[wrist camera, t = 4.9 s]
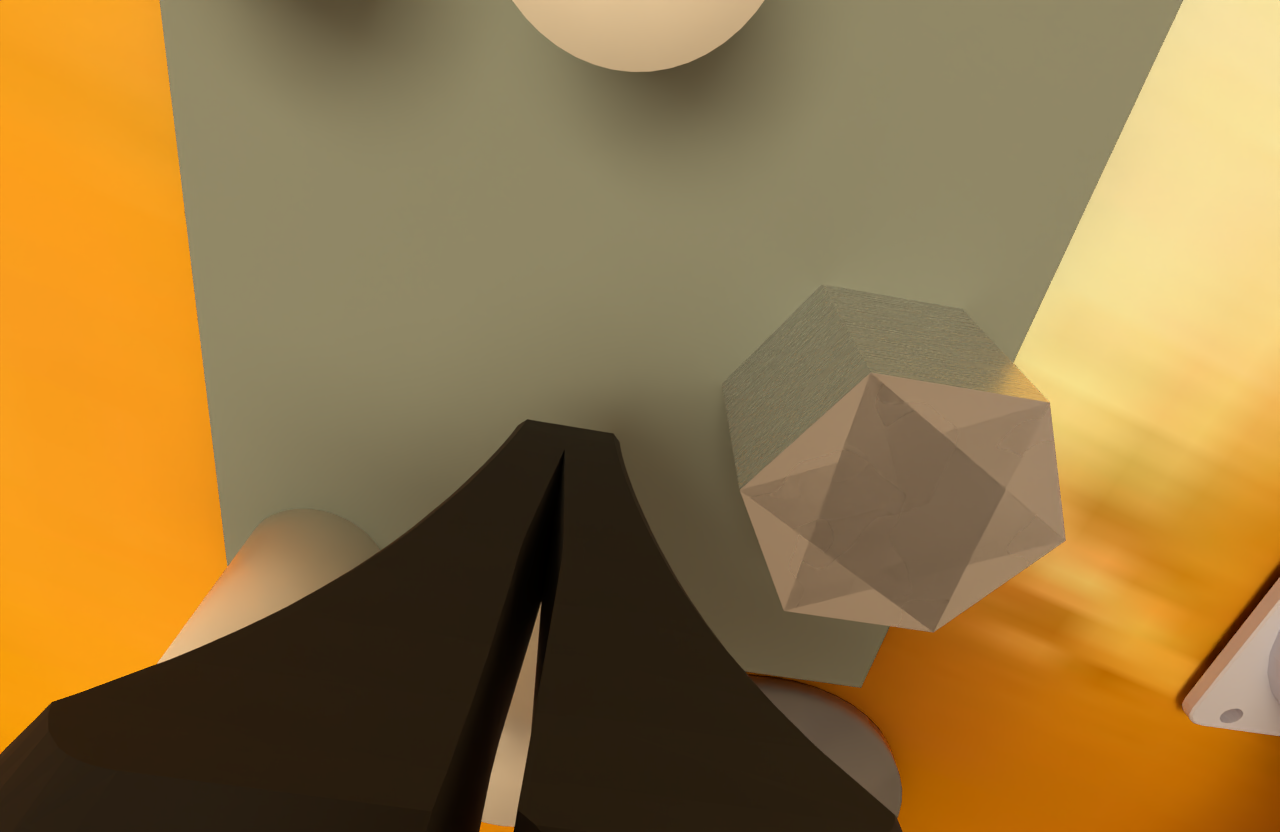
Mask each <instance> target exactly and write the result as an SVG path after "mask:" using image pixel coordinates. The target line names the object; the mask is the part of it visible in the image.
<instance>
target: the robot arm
mask: <svg viewBox="0 0 1280 832" xmlns="http://www.w3.org/2000/svg"><path fill="white" fill-rule="evenodd" d="M540 605H541V613H540V625H539V638H538V650H537V663H536V676H535V688H534V701H533V714H532V726H531V737H530V742H529V748H528V753H527V759H526V764H525V770H524V776H523V781H522V787H521V792H520V798H519V803H518V809H517V815H516V821H515V827H514V832H902V830H901V827H900V825H899V822H898V819H897V817H896V816H895V814H893V813H892V812H891V811H890V810H889V809H888V808H886V807H885V806H884V805H883V804H882V803H881V802H880V801H878V800H877V799H876V798H875V797H874V796H873V795H871V794H870V793H869V792H868V791H867V790H866V789H865V788H863V787H862V786H861V785H860V784H859V783H858V782H856V781H855V780H854V779H853V778H852V777H851V776H850V775H848V774H847V773H846V772H845V771H844V770H843V769H841V768H840V767H839V766H838V765H837V764H836V763H835V762H833V761H832V760H831V759H830V758H829V757H828V756H826V755H825V754H824V753H823V752H822V751H821V750H820V749H819V748H817V747H816V746H815V745H814V744H813V743H812V742H811V741H810V740H809V739H808V738H807V737H806V736H805V735H804V734H803V733H802V732H801V731H800V730H799V729H798V728H797V727H796V726H795V725H794V724H793V723H792V722H791V721H790V720H789V719H788V718H787V717H786V716H785V715H784V714H783V713H782V712H781V711H780V710H779V709H778V708H777V707H776V706H775V705H774V704H773V703H772V702H771V701H770V700H769V699H768V697H767V696H766V695H765V694H764V693H763V692H762V691H761V690H760V688H759V687H758V686H757V685H756V684H755V683H754V681H753V680H752V679H751V678H750V677H749V676H748V674H747V673H746V672H745V671H744V670H743V669H742V668H741V666H740V665H739V664H738V663H737V662H736V661H735V659H734V658H733V657H732V656H731V655H730V654H729V652H728V651H727V650H726V649H725V647H724V646H723V645H722V643H721V642H720V641H719V639H718V638H717V637H716V635H715V634H714V633H713V631H712V630H711V629H710V627H709V626H708V625H707V623H706V622H705V620H704V619H703V617H702V616H701V614H700V613H699V612H698V610H697V609H696V607H695V606H694V604H693V603H692V601H691V600H690V598H689V597H688V595H687V594H686V592H685V590H684V589H683V587H682V586H681V584H680V582H679V581H678V579H677V577H676V576H675V574H674V572H673V570H672V569H671V567H670V565H669V563H668V561H667V559H666V558H665V556H664V554H663V552H662V550H661V549H660V547H659V545H658V543H657V541H656V539H655V537H654V535H653V533H652V531H651V529H650V526H649V524H648V522H647V520H646V518H645V515H644V513H643V511H642V509H641V506H640V504H639V502H638V500H637V497H636V495H635V492H634V490H633V487H632V484H631V481H630V479H629V476H628V473H627V470H626V467H625V464H624V460H623V456H622V452H621V448H620V442H619V440H618V439H617V438H616V436H615V435H614V433H608V432H602V431H596V430H590V429H583V428H577V427H571V426H565V425H559V424H553V423H547V422H541V421H535V420H529V419H527V420H525V421H524V422H522V423H520V424H519V425H518V426H517V427H516V428H515V430H514V431H513V432H512V434H511V435H510V436H509V437H508V438H507V440H506V441H505V442H504V443H503V444H502V445H501V446H500V448H499V449H498V450H497V451H496V452H495V453H494V454H493V455H492V456H491V457H490V458H489V459H488V460H487V461H486V462H485V463H484V464H483V465H482V466H481V467H480V468H479V469H478V470H477V471H476V472H475V473H474V474H473V475H472V476H471V477H470V478H469V479H468V480H467V481H466V482H465V483H464V484H463V485H462V486H460V487H459V488H458V489H457V490H456V491H455V492H454V493H453V494H452V495H451V496H450V497H448V498H447V499H446V500H445V501H444V502H442V503H441V504H440V505H439V506H438V507H436V508H435V509H434V510H433V511H431V512H430V513H429V514H428V515H427V516H425V517H424V518H423V519H422V520H421V521H419V522H418V523H417V524H416V525H415V526H413V527H412V528H411V529H409V530H408V531H407V532H405V533H404V534H403V535H401V536H400V537H399V538H397V539H396V540H395V541H393V542H392V543H390V544H389V545H388V546H386V547H385V548H383V549H382V550H380V551H379V552H377V553H376V554H374V555H373V556H371V557H370V558H368V559H367V560H365V561H364V562H362V563H361V564H359V565H358V566H356V567H355V568H353V569H352V570H350V571H348V572H347V573H345V574H343V575H342V576H340V577H338V578H337V579H335V580H333V581H332V582H330V583H328V584H326V585H325V586H323V587H321V588H320V589H318V590H316V591H314V592H312V593H311V594H309V595H307V596H305V597H303V598H302V599H300V600H298V601H296V602H294V603H293V604H291V605H289V606H287V607H285V608H283V609H281V610H279V611H277V612H275V613H273V614H271V615H269V616H267V617H265V618H263V619H261V620H259V621H256V622H254V623H252V624H250V625H248V626H246V627H244V628H242V629H240V630H237V631H235V632H233V633H231V634H228V635H226V636H224V637H221V638H219V639H217V640H215V641H212V642H210V643H208V644H206V645H203V646H201V647H199V648H196V649H194V650H191V651H189V652H187V653H184V654H182V655H179V656H177V657H174V658H172V659H170V660H167V661H164V662H161V663H159V664H156V665H153V666H151V667H148V668H145V669H143V670H140V671H137V672H134V673H132V674H129V675H126V676H124V677H121V678H118V679H116V680H113V681H110V682H108V683H105V684H102V685H99V686H97V687H94V688H91V689H89V690H86V691H83V692H81V693H78V694H75V695H72V696H69V697H66V698H63V699H60V700H57V701H54V702H52V703H51V704H50V705H49V706H48V707H47V708H46V709H45V710H44V711H43V712H42V713H41V714H40V715H39V716H38V717H37V718H36V719H35V720H34V721H33V722H32V723H31V724H30V725H29V726H28V727H27V728H26V729H25V730H24V731H23V732H22V733H21V734H20V735H19V736H18V737H17V738H16V739H15V740H14V741H13V742H12V743H11V744H10V745H9V746H8V747H7V748H6V749H5V750H4V751H3V752H2V753H1V754H0V832H479V830H480V825H481V820H482V815H483V810H484V806H485V801H486V796H487V791H488V786H489V781H490V776H491V772H492V768H493V764H494V760H495V756H496V752H497V748H498V745H499V741H500V737H501V734H502V731H503V727H504V724H505V721H506V718H507V714H508V711H509V708H510V704H511V701H512V698H513V694H514V691H515V688H516V684H517V681H518V678H519V675H520V671H521V668H522V665H523V661H524V658H525V655H526V651H527V648H528V645H529V641H530V638H531V635H532V631H533V628H534V625H535V621H536V618H537V615H538V611H539V608H540ZM1182 708H1183V710H1184V712H1185V713H1186V714H1187V716H1188V717H1189V719H1190V720H1191V721H1192V722H1193V723H1195V724H1199V725H1203V726H1210V727H1218V728H1225V729H1232V730H1239V731H1246V732H1253V733H1260V734H1267V735H1275V736H1280V577H1279V578H1278V580H1277V581H1276V582H1275V584H1274V585H1273V586H1272V587H1271V589H1270V590H1269V591H1268V593H1267V594H1266V595H1265V596H1264V598H1263V599H1262V600H1261V601H1260V603H1259V604H1258V605H1257V607H1256V608H1255V609H1254V610H1253V612H1252V613H1251V614H1250V615H1249V617H1248V618H1247V619H1246V621H1245V622H1244V623H1243V624H1242V626H1241V627H1240V628H1239V630H1238V631H1237V632H1236V633H1235V635H1234V636H1233V637H1232V638H1231V640H1230V641H1229V642H1228V644H1227V645H1226V646H1225V647H1224V649H1223V650H1222V651H1221V652H1220V654H1219V655H1218V656H1217V658H1216V659H1215V660H1214V661H1213V663H1212V664H1211V665H1210V666H1209V668H1208V669H1207V670H1206V672H1205V673H1204V674H1203V675H1202V677H1201V678H1200V679H1199V681H1198V682H1197V683H1196V684H1195V686H1194V687H1193V688H1192V689H1191V691H1190V692H1189V693H1188V695H1187V696H1186V697H1185V699H1184V701H1183V703H1182Z"/></svg>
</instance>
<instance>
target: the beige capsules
mask: <svg viewBox="0 0 1280 832" xmlns="http://www.w3.org/2000/svg"><path fill="white" fill-rule="evenodd" d="M512 1H513V2H514V3H515V5H516V6H517V7H518V9H519V10H520V11H521V12H522V14H523V15H524V16H525V18H526V19H527V20H528V21H529V22H530V23H531V24H532V25H533V26H534V27H535V28H536V29H537V30H538V31H539V32H540V33H541V34H543V35H544V36H545V37H546V38H548V39H549V40H550V41H551V42H553V43H554V44H555V45H556V46H558V47H560V48H561V49H563V50H565V51H566V52H568V53H570V54H571V55H573V56H575V57H577V58H579V59H582V60H584V61H586V62H589V63H591V64H593V65H597V66H601V67H605V68H608V69H612V70H620V71H628V72H651V71H657V70H663V69H669V68H673V67H676V66H679V65H682V64H686V63H689V62H691V61H693V60H695V59H697V58H699V57H702V56H704V55H706V54H708V53H709V52H711V51H712V50H714V49H715V48H717V47H718V46H720V45H722V44H723V43H725V42H726V41H727V40H728V39H729V38H730V37H732V36H733V35H734V34H735V33H736V32H738V31H739V30H740V29H741V28H742V27H743V26H744V25H745V24H746V23H747V21H748V20H749V19H750V18H751V17H752V16H753V15H754V14H755V13H756V11H757V10H758V9H759V7H760V6H761V4H762V3H763V2H764V0H512ZM379 551H380V550H379V548H378V546H377V545H376V544H375V542H374V541H373V540H372V539H371V538H370V537H369V536H368V535H367V534H366V533H365V532H364V531H363V530H362V529H360V528H359V527H358V526H356V525H355V524H353V523H352V522H350V521H348V520H346V519H344V518H342V517H340V516H337V515H335V514H332V513H328V512H325V511H320V510H314V509H291V510H286V511H281V512H278V513H276V514H273V515H271V516H269V517H268V518H266V519H265V520H263V521H262V522H261V523H260V524H259V525H258V526H257V527H256V528H255V530H254V531H253V532H252V534H251V535H250V537H249V538H248V539H247V541H246V542H245V543H244V545H243V546H242V548H241V549H240V550H239V552H238V553H237V554H236V556H235V557H234V559H233V560H232V561H231V563H230V564H229V565H228V567H227V568H226V570H225V571H224V572H223V574H222V575H221V576H220V578H219V579H218V581H217V582H216V583H215V585H214V586H213V587H212V589H211V590H210V592H209V593H208V594H207V596H206V597H205V598H204V600H203V601H202V603H201V604H200V605H199V607H198V608H197V609H196V611H195V612H194V614H193V615H192V616H191V618H190V619H189V620H188V622H187V623H186V625H185V626H184V627H183V629H182V630H181V631H180V633H179V634H178V636H177V637H176V638H175V640H174V641H173V642H172V644H171V645H170V647H169V648H168V649H167V651H166V652H165V653H164V655H163V656H162V658H161V659H160V660H159V662H158V663H157V664H159V663H161V662H164V661H167V660H170V659H172V658H174V657H177V656H179V655H182V654H184V653H187V652H189V651H191V650H194V649H196V648H199V647H201V646H203V645H206V644H208V643H210V642H212V641H215V640H217V639H219V638H221V637H224V636H226V635H228V634H231V633H233V632H235V631H237V630H240V629H242V628H244V627H246V626H248V625H250V624H252V623H254V622H256V621H259V620H261V619H263V618H265V617H267V616H269V615H271V614H273V613H275V612H277V611H279V610H281V609H283V608H285V607H287V606H289V605H291V604H293V603H294V602H296V601H298V600H300V599H302V598H303V597H305V596H307V595H309V594H311V593H312V592H314V591H316V590H318V589H320V588H321V587H323V586H325V585H326V584H328V583H330V582H332V581H333V580H335V579H337V578H338V577H340V576H342V575H343V574H345V573H347V572H348V571H350V570H352V569H353V568H355V567H356V566H358V565H359V564H361V563H362V562H364V561H365V560H367V559H368V558H370V557H371V556H373V555H374V554H376V553H377V552H379ZM540 613H541V605H540V608H539V611H538V615H537V618H536V621H535V625H534V628H533V631H532V635H531V638H530V641H529V645H528V648H527V651H526V655H525V658H524V661H523V665H522V668H521V671H520V675H519V678H518V681H517V684H516V688H515V691H514V694H513V698H512V701H511V704H510V708H509V711H508V714H507V718H506V721H505V724H504V727H503V731H502V734H501V737H500V741H499V745H498V748H497V752H496V756H495V760H494V764H493V768H492V772H491V776H490V781H489V786H488V791H487V796H486V801H485V806H484V810H483V815H482V820H481V822H485V823H489V824H494V825H501V826H512V827H515V821H516V815H517V809H518V803H519V798H520V792H521V787H522V781H523V776H524V770H525V764H526V759H527V753H528V748H529V742H530V737H531V726H532V714H533V701H534V688H535V676H536V663H537V650H538V638H539V625H540Z"/></svg>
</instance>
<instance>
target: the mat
mask: <svg viewBox="0 0 1280 832" xmlns="http://www.w3.org/2000/svg"><path fill="white" fill-rule="evenodd" d="M1182 1H1183V0H764V2H763V3H762V4H761V6H760V7H759V9H758V10H757V11H756V13H755V14H754V15H753V16H752V17H751V18H750V19H749V20H748V21H747V23H746V24H745V25H744V26H743V27H742V28H741V29H740V30H739V31H738V32H736V33H735V34H734V35H733V36H732V37H730V38H729V39H728V40H727V41H726V42H725V43H723V44H722V45H720V46H718V47H717V48H715V49H714V50H712V51H711V52H709V53H708V54H706V55H704V56H702V57H699V58H697V59H695V60H693V61H691V62H689V63H686V64H682V65H679V66H676V67H673V68H669V69H663V70H657V71H651V72H628V71H620V70H612V69H608V68H605V67H601V66H597V65H593V64H591V63H589V62H586V61H584V60H582V59H579V58H577V57H575V56H573V55H571V54H570V53H568V52H566V51H565V50H563V49H561V48H560V47H558V46H556V45H555V44H554V43H553V42H551V41H550V40H549V39H548V38H546V37H545V36H544V35H543V34H541V33H540V32H539V31H538V30H537V29H536V28H535V27H534V26H533V25H532V24H531V23H530V22H529V21H528V20H527V19H526V18H525V16H524V15H523V14H522V12H521V11H520V10H519V9H518V7H517V6H516V5H515V3H514V2H513V1H512V0H160V7H161V15H162V24H163V32H164V40H165V49H166V57H167V66H168V74H169V82H170V91H171V99H172V107H173V116H174V124H175V132H176V141H177V149H178V157H179V166H180V174H181V182H182V191H183V199H184V207H185V216H186V224H187V232H188V241H189V249H190V257H191V266H192V274H193V282H194V291H195V299H196V308H197V316H198V324H199V333H200V341H201V349H202V358H203V366H204V374H205V383H206V391H207V399H208V408H209V416H210V424H211V433H212V441H213V449H214V458H215V466H216V474H217V483H218V491H219V499H220V508H221V516H222V524H223V533H224V541H225V550H226V558H227V566H228V565H229V564H230V563H231V561H232V560H233V559H234V557H235V556H236V554H237V553H238V552H239V550H240V549H241V548H242V546H243V545H244V543H245V542H246V541H247V539H248V538H249V537H250V535H251V534H252V532H253V531H254V530H255V528H256V527H257V526H258V525H259V524H260V523H261V522H262V521H263V520H265V519H266V518H268V517H269V516H271V515H273V514H276V513H278V512H281V511H286V510H291V509H314V510H320V511H325V512H328V513H332V514H335V515H337V516H340V517H342V518H344V519H346V520H348V521H350V522H352V523H353V524H355V525H356V526H358V527H359V528H360V529H362V530H363V531H364V532H365V533H366V534H367V535H368V536H369V537H370V538H371V539H372V540H373V541H374V542H375V544H376V545H377V546H378V548H379V550H382V549H383V548H385V547H386V546H388V545H389V544H390V543H392V542H393V541H395V540H396V539H397V538H399V537H400V536H401V535H403V534H404V533H405V532H407V531H408V530H409V529H411V528H412V527H413V526H415V525H416V524H417V523H418V522H419V521H421V520H422V519H423V518H424V517H425V516H427V515H428V514H429V513H430V512H431V511H433V510H434V509H435V508H436V507H438V506H439V505H440V504H441V503H442V502H444V501H445V500H446V499H447V498H448V497H450V496H451V495H452V494H453V493H454V492H455V491H456V490H457V489H458V488H459V487H460V486H462V485H463V484H464V483H465V482H466V481H467V480H468V479H469V478H470V477H471V476H472V475H473V474H474V473H475V472H476V471H477V470H478V469H479V468H480V467H481V466H482V465H483V464H484V463H485V462H486V461H487V460H488V459H489V458H490V457H491V456H492V455H493V454H494V453H495V452H496V451H497V450H498V449H499V448H500V446H501V445H502V444H503V443H504V442H505V441H506V440H507V438H508V437H509V436H510V435H511V434H512V432H513V431H514V430H515V428H516V427H517V426H518V425H519V424H520V423H522V422H524V421H525V420H527V419H529V420H535V421H541V422H547V423H553V424H559V425H565V426H571V427H577V428H583V429H590V430H596V431H602V432H608V433H614V435H615V436H616V438H617V439H618V440H619V442H620V448H621V452H622V456H623V460H624V464H625V467H626V470H627V473H628V476H629V479H630V481H631V484H632V487H633V490H634V492H635V495H636V497H637V500H638V502H639V504H640V506H641V509H642V511H643V513H644V515H645V518H646V520H647V522H648V524H649V526H650V529H651V531H652V533H653V535H654V537H655V539H656V541H657V543H658V545H659V547H660V549H661V550H662V552H663V554H664V556H665V558H666V559H667V561H668V563H669V565H670V567H671V569H672V570H673V572H674V574H675V576H676V577H677V579H678V581H679V582H680V584H681V586H682V587H683V589H684V590H685V592H686V594H687V595H688V597H689V598H690V600H691V601H692V603H693V604H694V606H695V607H696V609H697V610H698V612H699V613H700V614H701V616H702V617H703V619H704V620H705V622H706V623H707V625H708V626H709V627H710V629H711V630H712V631H713V633H714V634H715V635H716V637H717V638H718V639H719V641H720V642H721V643H722V645H723V646H724V647H725V649H726V650H727V651H728V652H729V654H730V655H731V656H732V657H733V658H734V659H735V661H736V662H737V663H738V664H739V665H740V666H741V668H742V669H743V670H744V671H745V672H752V673H759V674H766V675H773V676H781V677H788V678H795V679H802V680H809V681H816V682H824V683H831V684H838V685H845V686H852V687H860V688H861V687H862V684H863V682H864V680H865V678H866V676H867V674H868V672H869V670H870V667H871V665H872V663H873V661H874V659H875V657H876V655H877V652H878V650H879V648H880V646H881V644H882V642H883V640H884V637H885V635H886V633H887V631H888V629H889V627H890V626H886V625H879V624H872V623H865V622H858V621H851V620H844V619H837V618H830V617H823V616H816V615H809V614H802V613H795V612H788V611H784V610H783V607H782V604H781V601H780V599H779V596H778V593H777V591H776V588H775V585H774V582H773V580H772V577H771V574H770V571H769V569H768V566H767V563H766V560H765V558H764V555H763V552H762V550H761V547H760V544H759V541H758V539H757V536H756V533H755V530H754V528H753V525H752V522H751V520H750V517H749V514H748V511H747V509H746V506H745V503H744V500H743V498H742V495H741V492H740V489H739V483H738V477H737V471H736V465H735V459H734V453H733V447H732V441H731V435H730V429H729V423H728V417H727V411H726V405H725V399H724V393H723V387H722V383H723V382H724V381H725V380H726V379H727V378H728V377H729V376H730V375H731V374H732V373H733V372H734V371H735V370H736V369H737V368H738V367H739V366H740V365H741V364H742V363H743V362H744V361H745V360H746V359H747V358H748V357H749V356H750V355H751V354H752V353H753V352H754V351H755V350H756V349H757V348H758V347H759V346H760V345H761V344H762V343H763V342H764V341H765V340H766V339H767V338H768V337H769V336H770V335H771V334H772V333H773V332H774V331H775V330H776V329H777V328H778V327H779V326H780V325H781V324H782V323H783V322H784V321H785V320H786V319H787V318H789V317H790V316H791V315H792V314H793V313H794V312H795V311H796V310H797V309H798V308H799V307H800V306H801V305H802V304H803V303H804V302H805V301H806V300H807V299H808V298H809V297H810V296H811V295H812V294H813V293H814V292H815V291H816V290H817V289H818V288H819V287H820V286H821V285H822V284H824V285H830V286H835V287H841V288H847V289H852V290H858V291H864V292H870V293H875V294H881V295H887V296H892V297H898V298H904V299H909V300H915V301H921V302H927V303H932V304H938V305H944V306H949V307H955V308H961V309H963V310H964V311H965V312H966V313H967V314H968V316H969V317H970V318H971V319H972V320H973V321H974V322H975V323H976V324H977V325H978V326H979V327H980V328H981V329H982V330H983V332H984V333H985V334H986V335H987V336H988V337H989V338H990V339H991V340H992V341H993V342H994V343H995V344H996V345H997V347H998V348H999V349H1000V350H1001V351H1002V352H1003V353H1004V354H1005V355H1006V356H1007V357H1008V358H1009V359H1010V360H1011V362H1012V363H1013V362H1014V360H1015V358H1016V356H1017V354H1018V351H1019V349H1020V347H1021V345H1022V343H1023V341H1024V339H1025V337H1026V334H1027V332H1028V330H1029V328H1030V326H1031V324H1032V322H1033V319H1034V317H1035V315H1036V313H1037V311H1038V309H1039V307H1040V305H1041V302H1042V300H1043V298H1044V296H1045V294H1046V292H1047V290H1048V287H1049V285H1050V283H1051V281H1052V279H1053V277H1054V275H1055V272H1056V270H1057V268H1058V266H1059V264H1060V262H1061V260H1062V258H1063V255H1064V253H1065V251H1066V249H1067V247H1068V245H1069V243H1070V240H1071V238H1072V236H1073V234H1074V232H1075V230H1076V228H1077V226H1078V223H1079V221H1080V219H1081V217H1082V215H1083V213H1084V211H1085V208H1086V206H1087V204H1088V202H1089V200H1090V198H1091V196H1092V194H1093V191H1094V189H1095V187H1096V185H1097V183H1098V181H1099V179H1100V176H1101V174H1102V172H1103V170H1104V168H1105V166H1106V164H1107V161H1108V159H1109V157H1110V155H1111V153H1112V151H1113V149H1114V147H1115V144H1116V142H1117V140H1118V138H1119V136H1120V134H1121V132H1122V129H1123V127H1124V125H1125V123H1126V121H1127V119H1128V117H1129V115H1130V112H1131V110H1132V108H1133V106H1134V104H1135V102H1136V100H1137V97H1138V95H1139V93H1140V91H1141V89H1142V87H1143V85H1144V83H1145V80H1146V78H1147V76H1148V74H1149V72H1150V70H1151V68H1152V65H1153V63H1154V61H1155V59H1156V57H1157V55H1158V53H1159V51H1160V48H1161V46H1162V44H1163V42H1164V40H1165V38H1166V36H1167V33H1168V31H1169V29H1170V27H1171V25H1172V23H1173V21H1174V18H1175V16H1176V14H1177V12H1178V10H1179V8H1180V6H1181V4H1182Z"/></svg>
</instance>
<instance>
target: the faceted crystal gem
mask: <svg viewBox="0 0 1280 832" xmlns="http://www.w3.org/2000/svg"><path fill="white" fill-rule="evenodd" d="M722 387H723V393H724V399H725V405H726V411H727V417H728V423H729V429H730V435H731V441H732V447H733V453H734V459H735V465H736V471H737V477H738V483H739V489H740V492H741V495H742V498H743V500H744V503H745V506H746V509H747V511H748V514H749V517H750V520H751V522H752V525H753V528H754V530H755V533H756V536H757V539H758V541H759V544H760V547H761V550H762V552H763V555H764V558H765V560H766V563H767V566H768V569H769V571H770V574H771V577H772V580H773V582H774V585H775V588H776V591H777V593H778V596H779V599H780V601H781V604H782V607H783V610H784V611H788V612H795V613H802V614H809V615H816V616H823V617H830V618H837V619H844V620H851V621H858V622H865V623H872V624H879V625H886V626H893V627H900V628H907V629H914V630H921V631H928V632H935V631H936V630H938V629H939V628H940V627H942V626H943V625H945V624H946V623H948V622H949V621H951V620H952V619H953V618H955V617H956V616H958V615H959V614H961V613H962V612H963V611H965V610H966V609H968V608H969V607H971V606H972V605H974V604H975V603H976V602H978V601H979V600H981V599H982V598H984V597H985V596H987V595H988V594H989V593H991V592H992V591H994V590H995V589H997V588H998V587H999V586H1001V585H1002V584H1004V583H1005V582H1007V581H1008V580H1010V579H1011V578H1012V577H1014V576H1015V575H1017V574H1018V573H1020V572H1021V571H1023V570H1024V569H1025V568H1027V567H1028V566H1030V565H1031V564H1033V563H1034V562H1035V561H1037V560H1038V559H1040V558H1041V557H1043V556H1044V555H1046V554H1047V553H1048V552H1050V551H1051V550H1053V549H1054V548H1056V547H1057V546H1059V545H1060V544H1061V543H1063V542H1064V541H1066V539H1065V530H1064V521H1063V513H1062V504H1061V495H1060V487H1059V478H1058V469H1057V461H1056V452H1055V444H1054V435H1053V426H1052V418H1051V409H1050V402H1049V401H1048V400H1047V399H1046V398H1045V397H1044V396H1043V395H1042V394H1041V393H1040V391H1039V390H1038V389H1037V388H1036V387H1035V386H1034V385H1033V384H1032V383H1031V382H1030V381H1029V380H1028V379H1027V378H1026V376H1025V375H1024V374H1023V373H1022V372H1021V371H1020V370H1019V369H1018V368H1017V367H1016V366H1015V365H1014V364H1013V363H1012V362H1011V360H1010V359H1009V358H1008V357H1007V356H1006V355H1005V354H1004V353H1003V352H1002V351H1001V350H1000V349H999V348H998V347H997V345H996V344H995V343H994V342H993V341H992V340H991V339H990V338H989V337H988V336H987V335H986V334H985V333H984V332H983V330H982V329H981V328H980V327H979V326H978V325H977V324H976V323H975V322H974V321H973V320H972V319H971V318H970V317H969V316H968V314H967V313H966V312H965V311H964V310H963V309H961V308H955V307H949V306H944V305H938V304H932V303H927V302H921V301H915V300H909V299H904V298H898V297H892V296H887V295H881V294H875V293H870V292H864V291H858V290H852V289H847V288H841V287H835V286H830V285H824V284H822V285H821V286H820V287H819V288H818V289H817V290H816V291H815V292H814V293H813V294H812V295H811V296H810V297H809V298H808V299H807V300H806V301H805V302H804V303H803V304H802V305H801V306H800V307H799V308H798V309H797V310H796V311H795V312H794V313H793V314H792V315H791V316H790V317H789V318H787V319H786V320H785V321H784V322H783V323H782V324H781V325H780V326H779V327H778V328H777V329H776V330H775V331H774V332H773V333H772V334H771V335H770V336H769V337H768V338H767V339H766V340H765V341H764V342H763V343H762V344H761V345H760V346H759V347H758V348H757V349H756V350H755V351H754V352H753V353H752V354H751V355H750V356H749V357H748V358H747V359H746V360H745V361H744V362H743V363H742V364H741V365H740V366H739V367H738V368H737V369H736V370H735V371H734V372H733V373H732V374H731V375H730V376H729V377H728V378H727V379H726V380H725V381H724V382H723V383H722Z"/></svg>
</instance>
